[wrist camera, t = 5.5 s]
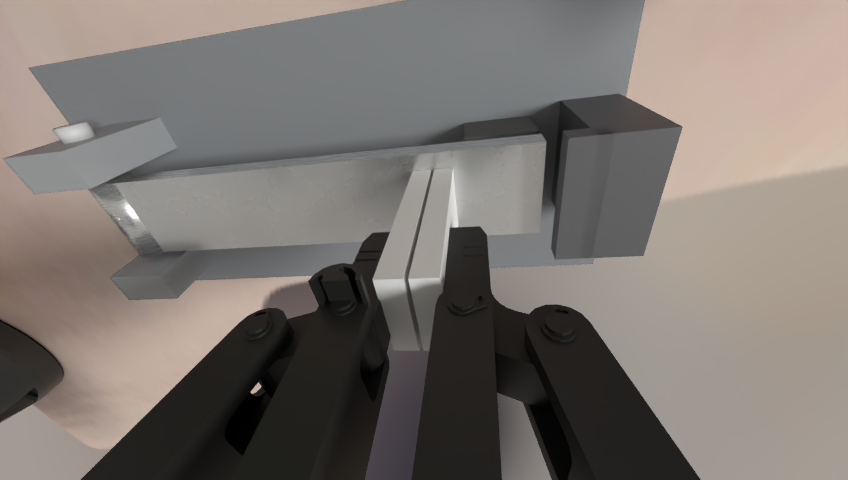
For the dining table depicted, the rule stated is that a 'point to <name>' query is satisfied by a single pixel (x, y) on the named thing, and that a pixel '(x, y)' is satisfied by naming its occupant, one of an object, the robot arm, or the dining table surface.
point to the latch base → (374, 119)
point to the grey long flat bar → (323, 196)
